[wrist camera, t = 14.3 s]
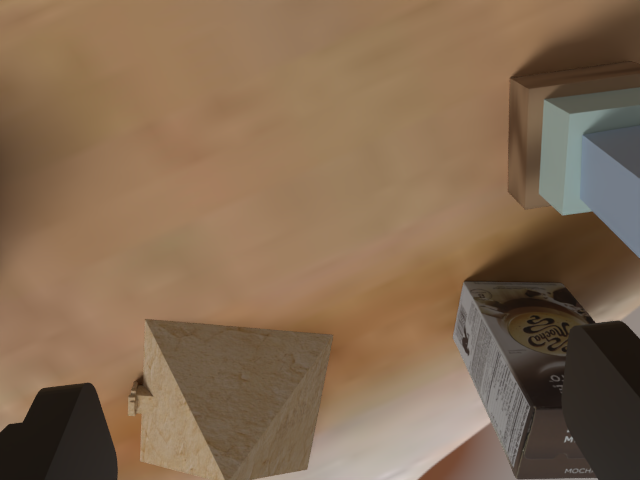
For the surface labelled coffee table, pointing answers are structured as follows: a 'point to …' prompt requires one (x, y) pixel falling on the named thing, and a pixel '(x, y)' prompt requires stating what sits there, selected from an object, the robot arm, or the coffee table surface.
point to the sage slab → (578, 140)
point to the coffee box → (523, 370)
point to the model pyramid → (229, 399)
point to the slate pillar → (613, 181)
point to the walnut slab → (529, 117)
